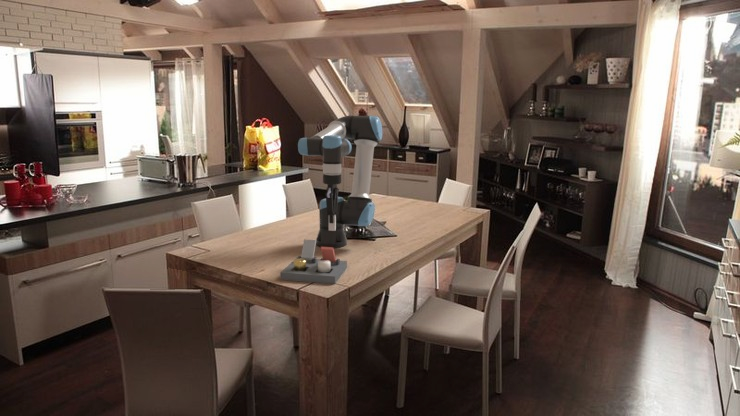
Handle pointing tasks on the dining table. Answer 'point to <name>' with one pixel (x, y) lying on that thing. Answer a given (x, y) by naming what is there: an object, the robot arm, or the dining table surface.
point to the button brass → (299, 264)
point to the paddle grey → (308, 250)
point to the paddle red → (328, 254)
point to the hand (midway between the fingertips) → (332, 230)
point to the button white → (324, 266)
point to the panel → (314, 272)
